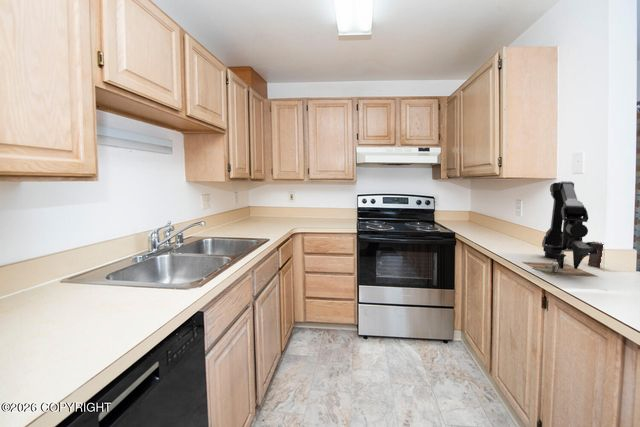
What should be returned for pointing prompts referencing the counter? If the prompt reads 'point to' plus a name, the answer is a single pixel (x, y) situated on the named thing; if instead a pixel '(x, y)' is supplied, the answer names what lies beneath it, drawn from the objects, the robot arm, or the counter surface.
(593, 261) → the box
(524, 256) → the counter surface
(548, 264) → the dial board
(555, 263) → the dial lever
